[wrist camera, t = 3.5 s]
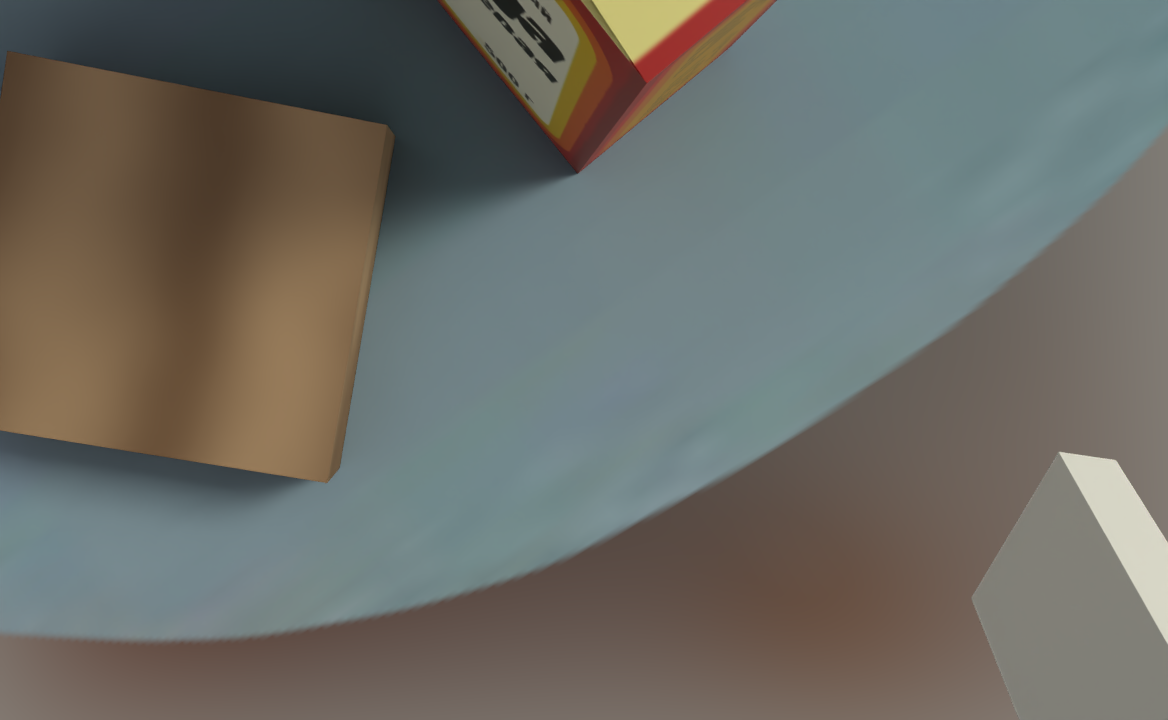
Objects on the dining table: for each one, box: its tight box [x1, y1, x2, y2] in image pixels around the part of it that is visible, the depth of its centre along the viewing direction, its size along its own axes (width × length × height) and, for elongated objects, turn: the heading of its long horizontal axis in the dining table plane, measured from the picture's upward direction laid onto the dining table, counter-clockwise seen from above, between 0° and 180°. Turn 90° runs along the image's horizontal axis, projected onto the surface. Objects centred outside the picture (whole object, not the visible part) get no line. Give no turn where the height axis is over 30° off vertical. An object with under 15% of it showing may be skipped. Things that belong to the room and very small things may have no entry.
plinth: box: [0, 51, 395, 483], centre depth 32 cm, size 11×11×2 cm
